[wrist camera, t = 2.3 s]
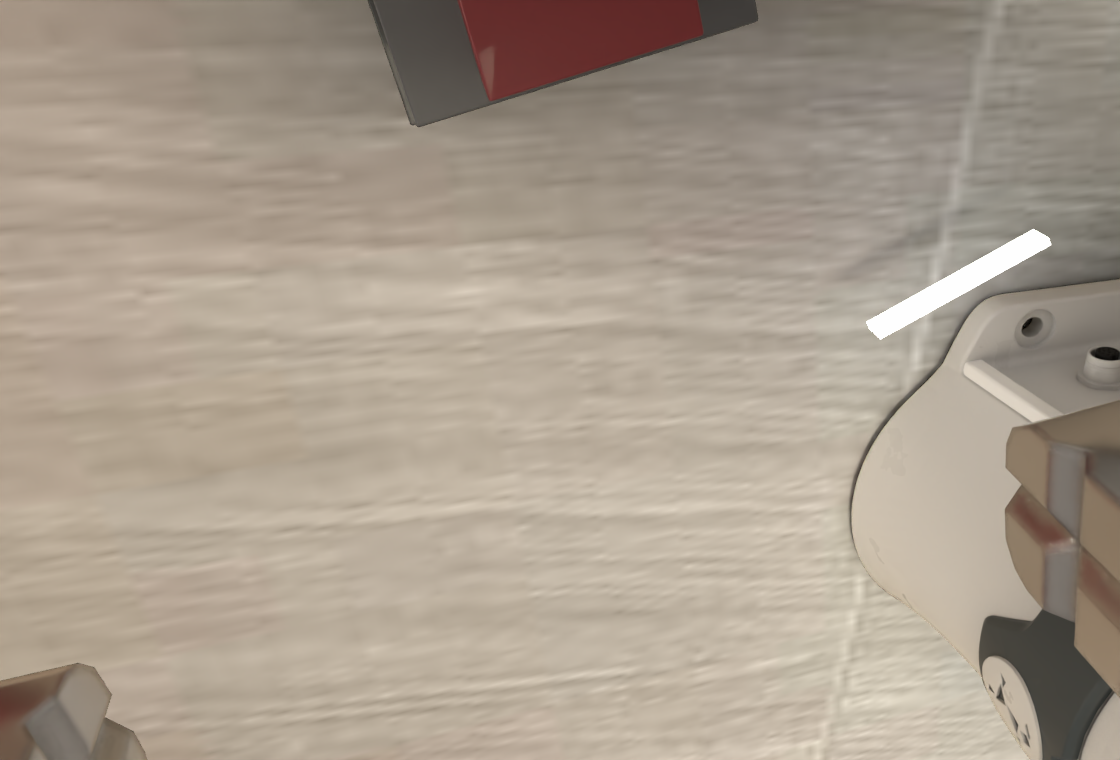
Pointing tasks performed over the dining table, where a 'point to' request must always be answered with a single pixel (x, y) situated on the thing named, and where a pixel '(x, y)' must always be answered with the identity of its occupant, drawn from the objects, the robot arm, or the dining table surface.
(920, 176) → the dining table surface
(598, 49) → the red rectangular block
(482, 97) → the grey books
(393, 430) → the dining table surface
